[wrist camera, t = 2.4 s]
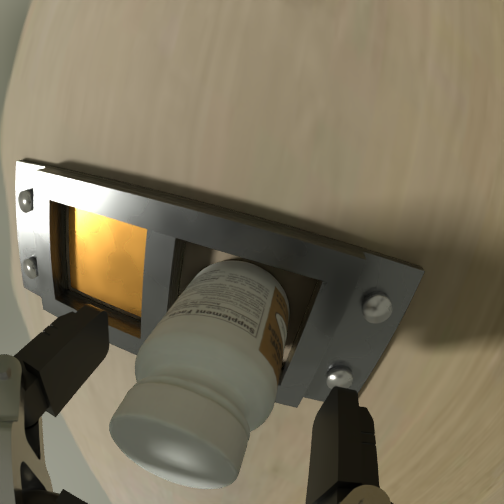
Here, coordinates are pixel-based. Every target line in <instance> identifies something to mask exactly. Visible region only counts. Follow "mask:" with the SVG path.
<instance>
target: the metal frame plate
mask: <svg viewBox="0 0 504 504" xmlns="http://www.w3.org/2000/svg"><path fill="white" fill-rule="evenodd" d="M65 204H66V205H69V260H70V277H71V287H72V288H75V289H77V290H79V291H81V292H83V293H85V294H88V295H90V296H92V297H94V298H97V299H99V300H101V301H104V302H106V303H108V304H111V305H113V306H115V307H118V308H120V309H123V310H125V311H128V312H130V313H132V314H135V315H137V316H140V317H141V321H139V320H137V319H134V318H132V317H129V316H127V315H124V314H122V313H120V312H117V311H115V310H113V309H110V308H108V307H106V306H103V305H101V304H99V303H96V302H94V301H92V300H90V299H88V298H85V297H83V296H81V295H79V294H77V293H75V292H72V291H70V290H68V281H67V267H66V245H65ZM16 216H17V232H18V244H19V254H20V263H21V270H22V277H23V284H24V288H26V289H28V290H30V291H31V292H33V293H35V294H37V295H39V296H40V297H41V298H42V304H43V309H44V310H46V311H47V312H49V313H51V314H53V315H55V316H56V317H60V316H62V315H64V314H67V313H69V312H72V311H73V312H75V313H76V312H77V311H78V310H79V309H81V308H82V307H83V306H84V305H86V304H91V305H93V306H95V307H97V308H100V309H102V310H104V311H106V312H107V314H108V328H109V343H110V344H112V345H115V346H117V347H119V348H121V349H124V350H126V351H128V352H130V353H133V354H135V355H137V354H138V352H139V350H140V348H141V346H142V345H143V343H144V342H145V340H146V339H147V338H148V336H149V335H150V334H151V332H152V331H153V330H154V328H155V327H156V326H157V325H158V323H159V322H160V321H161V319H162V318H163V317H164V316H165V314H166V313H167V312H168V311H169V309H170V308H171V307H172V305H173V304H174V303H175V301H176V300H177V299H178V291H179V283H180V276H181V268H182V261H183V254H184V248H185V241H188V242H191V243H195V244H198V245H202V246H205V247H208V248H212V249H215V250H218V251H222V252H225V253H229V254H232V255H235V256H239V257H242V258H246V259H249V260H252V261H256V262H259V263H263V264H266V265H270V266H273V267H276V268H280V269H283V270H287V271H290V272H294V273H297V274H300V275H304V276H307V277H311V278H314V279H318V281H317V283H316V286H315V289H314V292H313V294H312V297H311V300H310V302H309V305H308V308H307V310H306V313H305V315H304V318H303V321H302V323H301V326H300V328H299V331H298V333H297V336H296V338H295V341H294V343H293V346H292V348H291V351H290V353H289V356H288V358H287V360H286V363H285V365H284V368H281V372H280V377H279V382H278V387H277V393H276V398H275V402H276V403H280V404H284V405H288V406H292V407H296V408H297V407H298V405H299V404H300V402H301V400H302V398H303V397H305V398H310V399H314V400H319V401H323V402H324V401H325V400H326V398H327V396H328V395H329V393H330V391H331V390H332V388H333V387H334V386H338V387H343V388H348V389H353V390H356V391H357V393H358V392H359V390H360V389H361V387H362V386H363V384H364V383H365V381H366V380H367V378H368V376H369V375H370V373H371V372H372V370H373V368H374V367H375V365H376V363H377V362H378V360H379V358H380V357H381V355H382V353H383V352H384V350H385V348H386V346H387V345H388V343H389V341H390V339H391V338H392V336H393V334H394V332H395V330H396V328H397V327H398V325H399V323H400V321H401V319H402V317H403V315H404V313H405V311H406V309H407V307H408V305H409V303H410V301H411V299H412V297H413V295H414V293H415V291H416V289H417V287H418V285H419V283H420V281H421V278H422V276H423V274H424V272H425V271H424V270H423V268H422V267H420V266H417V265H414V264H411V263H408V262H405V261H402V260H399V259H395V258H392V257H389V256H386V255H383V254H380V253H377V252H373V251H370V250H367V249H364V248H361V247H357V246H354V245H351V244H348V243H344V242H341V241H338V240H335V239H331V238H328V237H325V236H321V235H318V234H315V233H311V232H308V231H304V230H301V229H298V228H294V227H291V226H287V225H284V224H280V223H277V222H273V221H270V220H266V219H263V218H259V217H255V216H252V215H248V214H245V213H241V212H237V211H234V210H230V209H226V208H223V207H219V206H215V205H211V204H208V203H204V202H200V201H196V200H192V199H188V198H185V197H181V196H177V195H173V194H169V193H165V192H161V191H157V190H153V189H149V188H145V187H141V186H137V185H132V184H128V183H124V182H120V181H116V180H111V179H107V178H103V177H99V176H94V175H90V174H85V173H81V172H76V171H72V170H67V169H63V168H58V167H54V166H49V165H44V164H39V163H34V162H30V161H25V160H19V161H16Z"/></svg>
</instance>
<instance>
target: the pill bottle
mask: <svg viewBox="0 0 504 504" xmlns="http://www.w3.org/2000/svg"><path fill="white" fill-rule="evenodd" d="M289 315H290V308H289V302H288V299H287V296H286V293H285V291H284V290H283V288H282V286H281V285H280V283H279V282H278V281H277V280H276V279H275V278H274V277H273V276H272V275H271V274H270V273H269V272H267V271H266V270H264V269H262V268H260V267H258V266H256V265H254V264H251V263H248V262H244V261H233V260H230V261H221V262H217V263H214V264H212V265H210V266H208V267H206V268H204V269H203V270H202V271H200V272H199V273H198V274H197V275H196V276H195V278H194V279H193V280H192V281H191V282H190V284H189V285H188V286H187V287H186V289H185V290H184V291H183V292H182V294H181V295H180V296H179V298H178V299H177V300H176V301H175V303H174V304H173V305H172V307H171V308H170V309H169V311H168V312H167V313H166V314H165V316H164V317H163V318H162V319H161V321H160V322H159V323H158V325H157V326H156V327H155V328H154V330H153V331H152V332H151V334H150V335H149V336H148V338H147V339H146V340H145V342H144V343H143V345H142V346H141V348H140V350H139V352H138V354H137V357H136V362H135V375H136V380H137V383H136V384H135V385H134V386H133V388H131V389H130V390H129V391H128V392H127V394H126V396H125V398H124V399H123V401H122V403H121V404H120V406H119V407H118V409H117V410H116V412H115V413H114V415H113V417H112V419H111V421H110V424H109V431H110V434H111V436H112V438H113V440H114V442H115V443H116V444H117V446H118V447H119V448H120V449H121V451H122V452H123V453H124V454H125V455H126V456H127V457H128V458H130V459H131V460H132V461H134V462H135V463H136V464H137V465H139V466H140V467H142V468H144V469H145V470H147V471H149V472H151V473H153V474H154V475H156V476H158V477H161V478H163V479H165V480H167V481H170V482H173V483H176V484H180V485H183V486H188V487H192V488H199V489H217V488H222V487H225V486H228V485H230V484H232V483H233V482H234V481H235V480H236V478H237V476H238V474H239V471H240V468H241V464H242V461H243V457H244V454H245V451H246V448H247V442H248V440H249V438H250V432H251V431H253V430H255V429H256V428H258V427H259V426H260V425H262V424H263V423H264V422H265V420H266V419H267V418H268V417H269V415H270V413H271V411H272V409H273V406H274V403H275V398H276V393H277V387H278V382H279V377H280V372H281V366H282V360H283V353H284V348H285V341H286V338H287V328H288V322H289Z"/></svg>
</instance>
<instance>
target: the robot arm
mask: <svg viewBox="0 0 504 504" xmlns="http://www.w3.org/2000/svg"><path fill="white" fill-rule="evenodd" d="M108 350H109V328H108V314H107V312H106V311H104V310H102V309H100V308H97V307H95V306H93V305H91V304H86V305H84V306H83V307H82V308H81V309H79V310H78V311H77V312H76V313H75V312H73V311H72V312H69V313H67V314H64V315H62V316H60V317H58V318H57V319H56V320H55V321H54V322H52V323H51V324H50V326H48V327H47V328H45V329H44V330H43V332H41V333H40V334H38V335H37V336H36V337H35V338H34V339H33V340H32V341H30V342H29V343H28V344H27V345H26V346H25V347H24V348H23V349H21V350H20V351H19V352H18V353H17V354H16V355H14V356H11V355H7V354H1V355H0V504H88V503H86V502H84V501H82V500H81V499H79V498H77V497H76V496H74V495H72V494H70V493H69V492H67V491H66V490H64V489H63V490H62V491H61V493H60V494H58V493H54V492H53V489H52V484H51V480H50V476H49V474H48V471H47V469H46V464H45V456H44V444H43V429H42V417H41V416H42V414H43V413H44V412H45V411H47V412H49V413H50V414H52V415H53V416H55V417H56V416H57V415H58V414H59V413H60V411H61V410H62V409H63V408H64V406H65V405H66V404H67V403H68V402H69V400H70V399H71V398H72V397H73V395H74V394H75V393H76V392H77V391H78V389H79V388H80V387H81V386H82V385H83V383H84V382H85V381H86V380H87V379H88V377H89V376H90V375H91V374H92V373H93V371H94V370H95V369H96V368H97V367H98V366H99V364H100V363H101V362H102V361H103V360H104V358H105V357H106V355H107V353H108ZM374 433H375V430H374V421H373V418H372V417H371V415H370V413H369V411H368V409H367V408H366V407H360V406H359V403H358V393H357V391H356V390H353V389H348V388H343V387H338V386H334V387H333V388H332V390H331V391H330V393H329V395H328V396H327V398H326V400H325V401H324V403H323V405H322V406H321V408H320V410H319V411H318V413H317V415H316V417H315V420H314V424H313V429H312V442H311V455H310V466H309V476H308V486H307V495H306V504H393V503H392V502H390V499H389V497H388V495H387V494H386V493H385V492H384V491H383V490H382V489H380V486H379V476H378V463H377V451H376V446H375V444H376V440H375V435H374Z"/></svg>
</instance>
